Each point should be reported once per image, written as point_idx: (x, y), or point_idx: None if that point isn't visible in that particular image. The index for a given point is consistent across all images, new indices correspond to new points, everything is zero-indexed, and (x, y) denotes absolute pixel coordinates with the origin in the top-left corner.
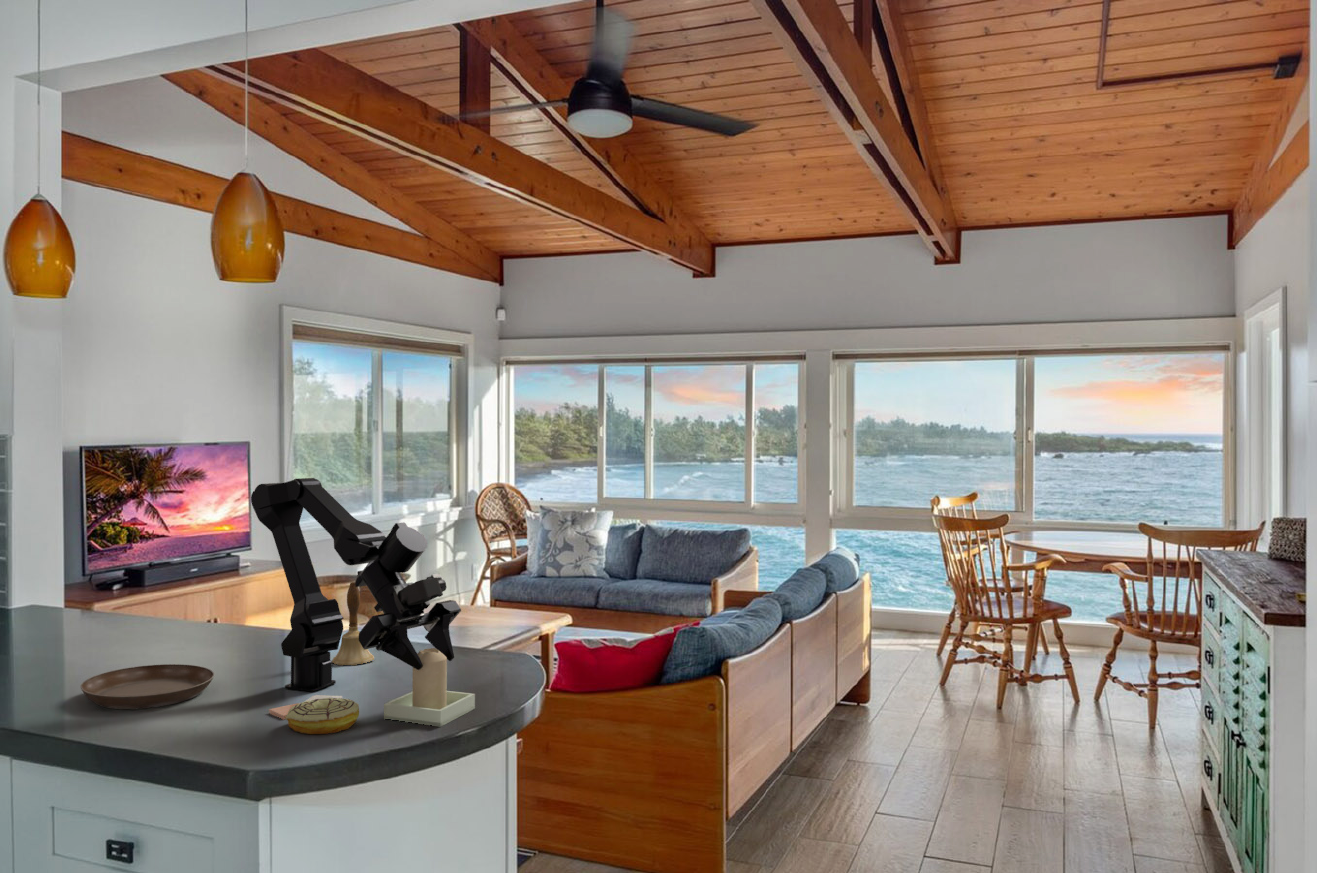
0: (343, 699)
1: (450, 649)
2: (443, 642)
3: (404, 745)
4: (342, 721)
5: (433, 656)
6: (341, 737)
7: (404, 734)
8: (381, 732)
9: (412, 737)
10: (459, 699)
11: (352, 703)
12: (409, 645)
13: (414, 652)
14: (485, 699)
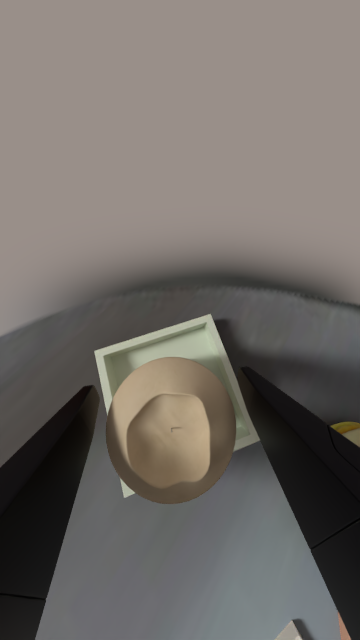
0: None
1: (70, 411)
2: (48, 479)
3: (285, 297)
4: (353, 423)
5: (191, 377)
6: (342, 398)
7: (262, 334)
8: (283, 369)
9: (260, 315)
10: (112, 378)
11: None
12: (334, 448)
13: (286, 407)
14: (48, 385)
